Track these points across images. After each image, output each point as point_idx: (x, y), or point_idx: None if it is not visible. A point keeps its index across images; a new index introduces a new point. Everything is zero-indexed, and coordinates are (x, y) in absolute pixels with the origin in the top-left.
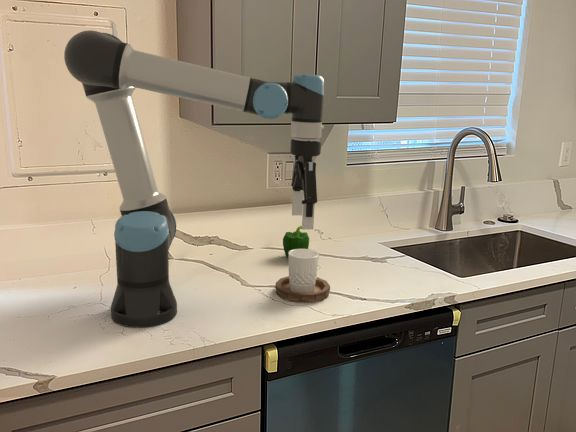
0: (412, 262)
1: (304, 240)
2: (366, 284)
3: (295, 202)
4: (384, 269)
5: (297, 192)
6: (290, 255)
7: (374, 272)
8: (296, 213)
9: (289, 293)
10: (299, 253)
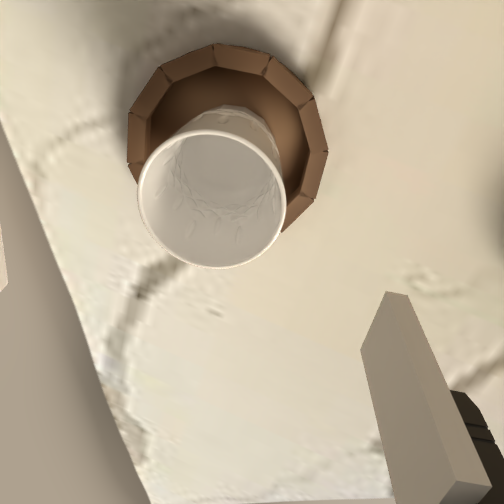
0: (343, 489)
1: None
2: (238, 344)
3: (405, 389)
4: (325, 424)
5: (430, 499)
6: (193, 130)
7: (314, 397)
8: (377, 327)
9: (154, 73)
10: (278, 203)
